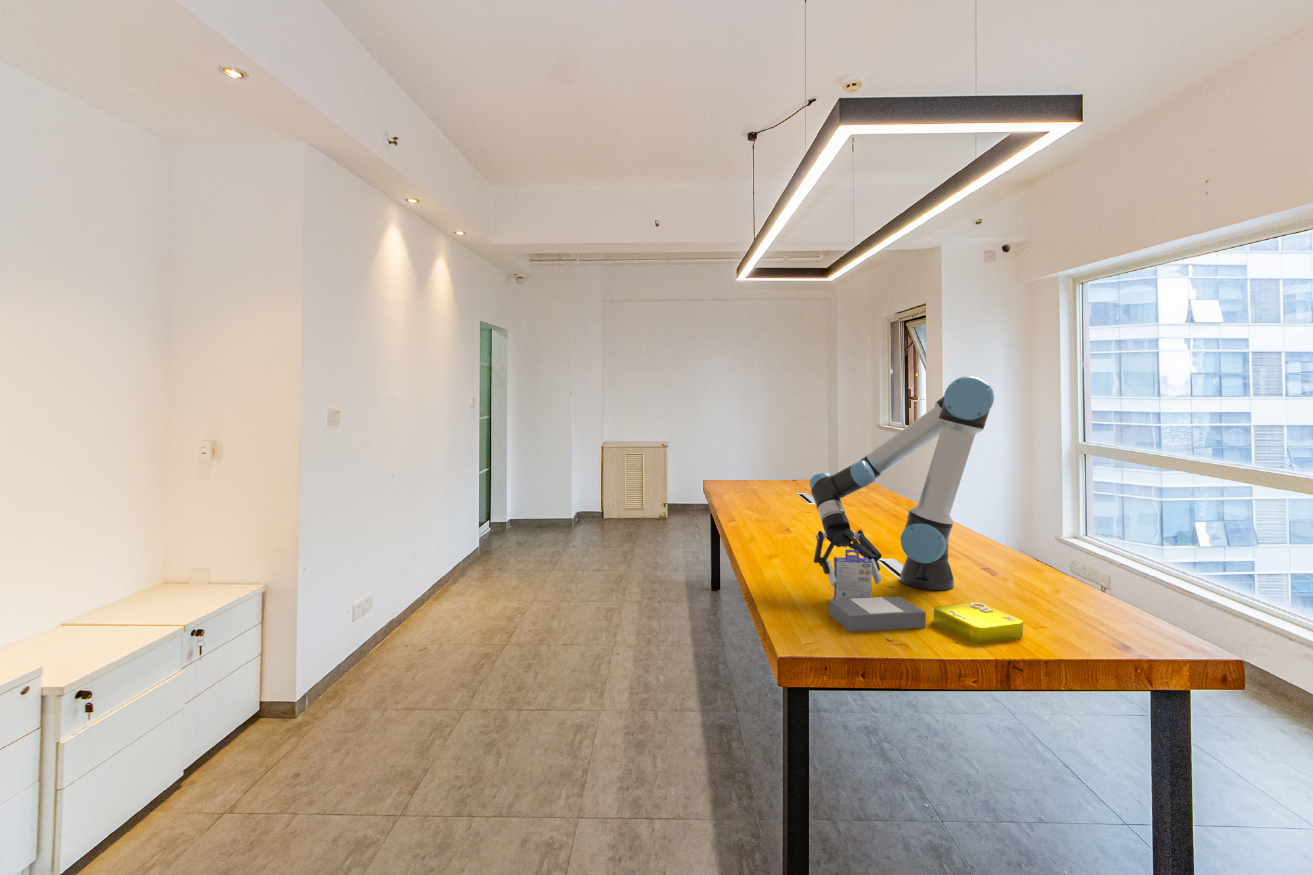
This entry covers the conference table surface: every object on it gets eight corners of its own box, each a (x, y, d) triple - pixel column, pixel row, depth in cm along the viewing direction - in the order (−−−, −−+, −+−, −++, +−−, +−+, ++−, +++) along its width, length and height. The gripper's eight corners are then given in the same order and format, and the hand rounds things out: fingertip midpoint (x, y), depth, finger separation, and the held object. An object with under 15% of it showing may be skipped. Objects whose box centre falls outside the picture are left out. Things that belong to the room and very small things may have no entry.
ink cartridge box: (868, 599, 167) (869, 549, 166) (872, 605, 162) (873, 554, 161) (832, 597, 169) (833, 548, 168) (835, 604, 163) (836, 553, 162)
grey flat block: (899, 610, 157) (899, 595, 157) (925, 627, 146) (925, 611, 145) (828, 614, 155) (829, 599, 155) (849, 631, 143) (849, 615, 143)
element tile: (929, 622, 150) (929, 604, 150) (976, 617, 154) (977, 599, 154) (975, 646, 136) (976, 626, 135) (1026, 639, 140) (1027, 619, 139)
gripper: (867, 524, 181) (892, 587, 167) (791, 526, 178) (810, 591, 164) (876, 510, 176) (903, 574, 161) (798, 512, 172) (818, 577, 158)
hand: (856, 582), depth 162 cm, fingers open, 12 cm apart
